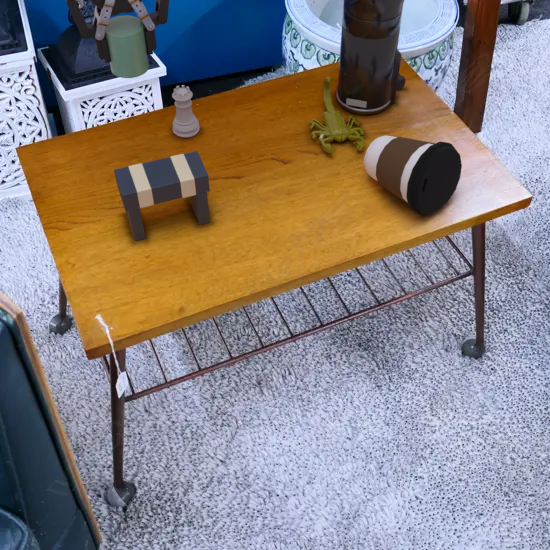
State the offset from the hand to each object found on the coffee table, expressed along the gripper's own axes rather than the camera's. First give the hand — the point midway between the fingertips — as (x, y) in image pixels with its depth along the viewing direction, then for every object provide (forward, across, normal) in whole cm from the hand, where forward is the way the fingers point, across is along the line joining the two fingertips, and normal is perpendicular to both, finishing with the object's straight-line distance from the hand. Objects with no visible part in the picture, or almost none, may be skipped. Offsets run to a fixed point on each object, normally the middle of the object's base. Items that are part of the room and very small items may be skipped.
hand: (128, 55), depth 105 cm
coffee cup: (+15, +33, -15) cm, 39 cm away
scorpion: (+19, +31, -3) cm, 36 cm away
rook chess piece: (+19, +8, +5) cm, 21 cm away
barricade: (+19, 0, -14) cm, 24 cm away
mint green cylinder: (+2, 0, 0) cm, 2 cm away
